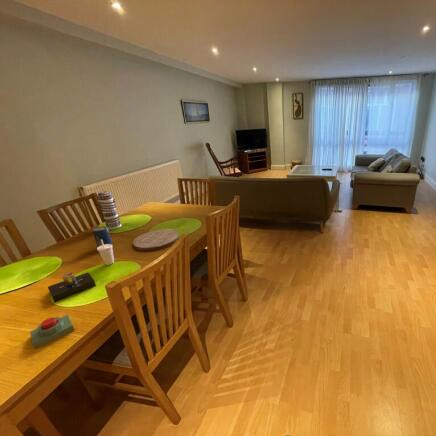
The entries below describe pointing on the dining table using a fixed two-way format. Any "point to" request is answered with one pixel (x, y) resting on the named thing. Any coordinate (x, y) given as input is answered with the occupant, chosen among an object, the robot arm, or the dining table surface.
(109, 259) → the smoothie
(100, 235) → the soda can
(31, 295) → the dining table surface
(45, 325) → the power button
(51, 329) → the push button box
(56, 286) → the hob panel
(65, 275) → the hob knob
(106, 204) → the grey ringed cylinder
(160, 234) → the trivet
